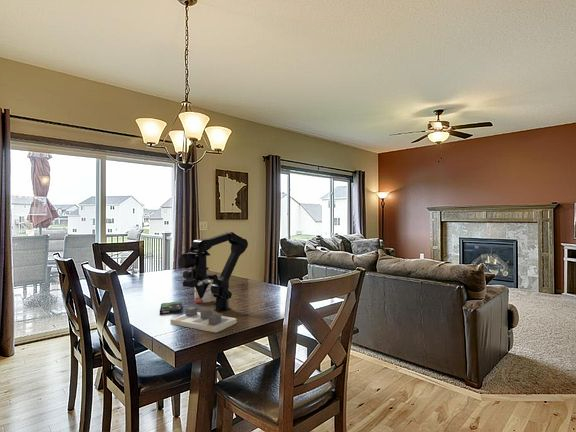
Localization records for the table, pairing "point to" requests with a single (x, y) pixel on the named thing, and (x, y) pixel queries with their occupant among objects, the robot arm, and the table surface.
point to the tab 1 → (191, 311)
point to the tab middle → (206, 313)
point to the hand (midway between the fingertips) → (201, 298)
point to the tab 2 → (215, 319)
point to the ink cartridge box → (206, 296)
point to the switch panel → (202, 322)
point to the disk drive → (171, 308)
